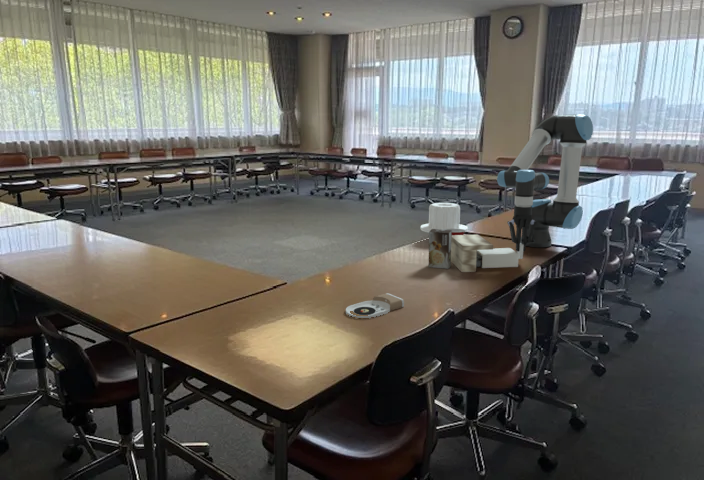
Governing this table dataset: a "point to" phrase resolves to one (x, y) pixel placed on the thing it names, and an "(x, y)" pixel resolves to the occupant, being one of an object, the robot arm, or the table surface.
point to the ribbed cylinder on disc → (443, 217)
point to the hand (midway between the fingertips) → (519, 258)
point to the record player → (376, 306)
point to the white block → (498, 257)
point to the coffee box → (440, 248)
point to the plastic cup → (457, 231)
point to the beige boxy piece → (468, 251)
